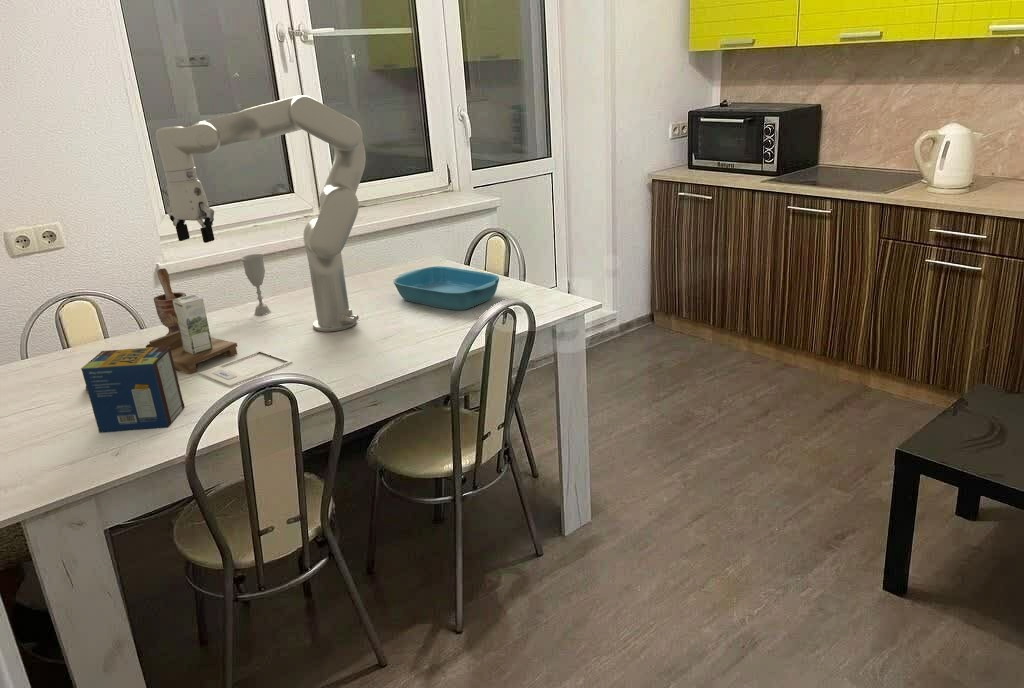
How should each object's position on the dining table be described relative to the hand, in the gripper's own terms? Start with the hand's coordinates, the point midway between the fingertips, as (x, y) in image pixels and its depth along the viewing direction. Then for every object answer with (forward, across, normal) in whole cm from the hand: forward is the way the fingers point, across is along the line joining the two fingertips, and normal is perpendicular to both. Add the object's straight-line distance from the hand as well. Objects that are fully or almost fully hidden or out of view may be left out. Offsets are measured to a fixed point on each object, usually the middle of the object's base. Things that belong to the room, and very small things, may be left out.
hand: (196, 240), depth 204 cm
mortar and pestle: (+30, +18, +1) cm, 35 cm away
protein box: (+30, -22, +41) cm, 55 cm away
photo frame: (+31, -21, +10) cm, 39 cm away
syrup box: (+27, -4, +10) cm, 29 cm away
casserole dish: (+32, -38, -58) cm, 76 cm away
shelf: (+30, -3, +11) cm, 32 cm away
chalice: (+31, +11, -26) cm, 42 cm away
